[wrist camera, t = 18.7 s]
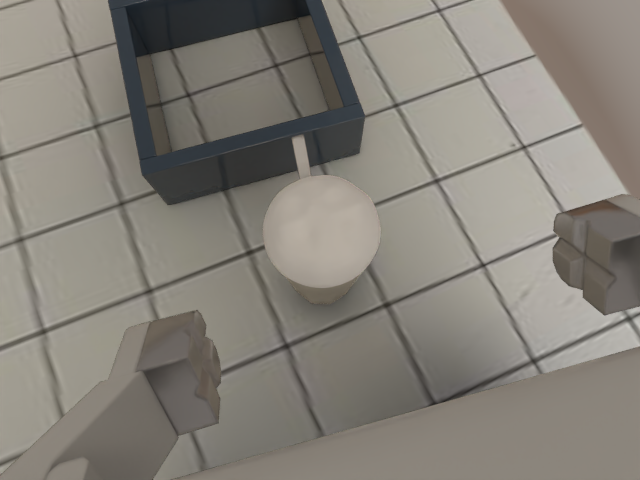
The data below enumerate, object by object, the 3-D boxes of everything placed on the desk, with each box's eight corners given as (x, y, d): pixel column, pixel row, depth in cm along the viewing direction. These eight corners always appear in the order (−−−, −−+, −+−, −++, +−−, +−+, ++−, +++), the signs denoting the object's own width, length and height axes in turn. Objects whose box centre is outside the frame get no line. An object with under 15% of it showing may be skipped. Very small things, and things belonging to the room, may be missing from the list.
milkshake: (345, 215, 26) (357, 120, 17) (374, 304, 25) (405, 254, 15) (269, 236, 26) (237, 150, 17) (293, 327, 24) (273, 291, 15)
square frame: (359, 153, 28) (365, 116, 24) (167, 205, 27) (141, 175, 23) (306, 5, 31) (303, -49, 27) (134, 46, 30) (107, -3, 26)
